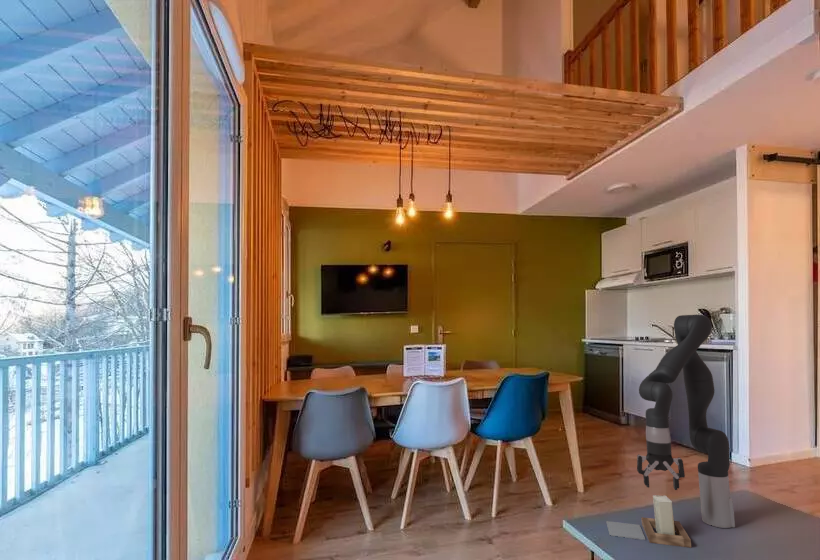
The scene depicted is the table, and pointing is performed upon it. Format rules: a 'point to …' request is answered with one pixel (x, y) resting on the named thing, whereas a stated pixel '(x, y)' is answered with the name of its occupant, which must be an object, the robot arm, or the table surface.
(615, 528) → the slate mat
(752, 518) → the table surface
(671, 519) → the skincare box
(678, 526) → the frame
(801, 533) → the table surface
